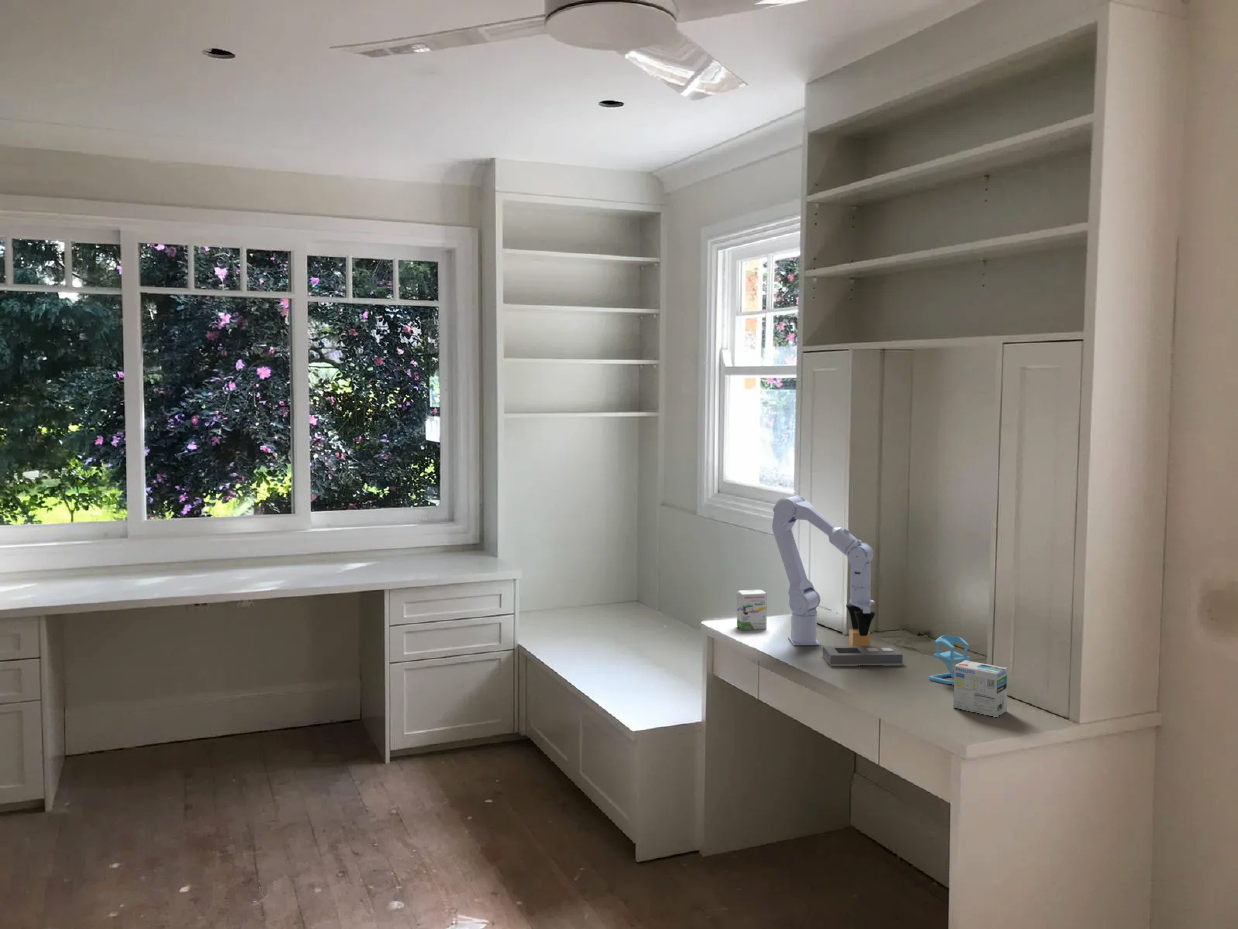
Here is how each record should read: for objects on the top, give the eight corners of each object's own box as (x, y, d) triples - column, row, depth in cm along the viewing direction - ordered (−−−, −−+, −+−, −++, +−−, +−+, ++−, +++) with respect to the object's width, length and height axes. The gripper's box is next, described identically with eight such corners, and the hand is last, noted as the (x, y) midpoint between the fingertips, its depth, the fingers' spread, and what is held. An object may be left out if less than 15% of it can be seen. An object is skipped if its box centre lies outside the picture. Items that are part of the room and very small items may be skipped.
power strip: (822, 656, 282) (822, 645, 282) (892, 655, 282) (892, 644, 282) (830, 666, 273) (830, 654, 272) (902, 665, 273) (902, 654, 273)
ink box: (741, 630, 312) (741, 593, 310) (736, 626, 316) (736, 590, 315) (767, 629, 313) (767, 592, 312) (761, 625, 318) (762, 589, 317)
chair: (951, 688, 253) (953, 642, 251) (928, 679, 260) (929, 635, 259) (974, 684, 256) (975, 639, 255) (949, 675, 263) (951, 631, 262)
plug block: (849, 649, 289) (849, 629, 289) (866, 649, 290) (866, 629, 289) (852, 653, 285) (853, 632, 285) (869, 653, 286) (870, 632, 285)
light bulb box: (1007, 711, 235) (1009, 667, 234) (996, 719, 230) (998, 673, 229) (963, 702, 242) (964, 658, 241) (952, 708, 237) (953, 664, 236)
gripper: (881, 591, 279) (880, 638, 280) (867, 580, 293) (866, 625, 294) (856, 591, 279) (856, 638, 280) (843, 581, 293) (843, 626, 294)
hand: (859, 632), depth 287 cm, fingers open, 7 cm apart
